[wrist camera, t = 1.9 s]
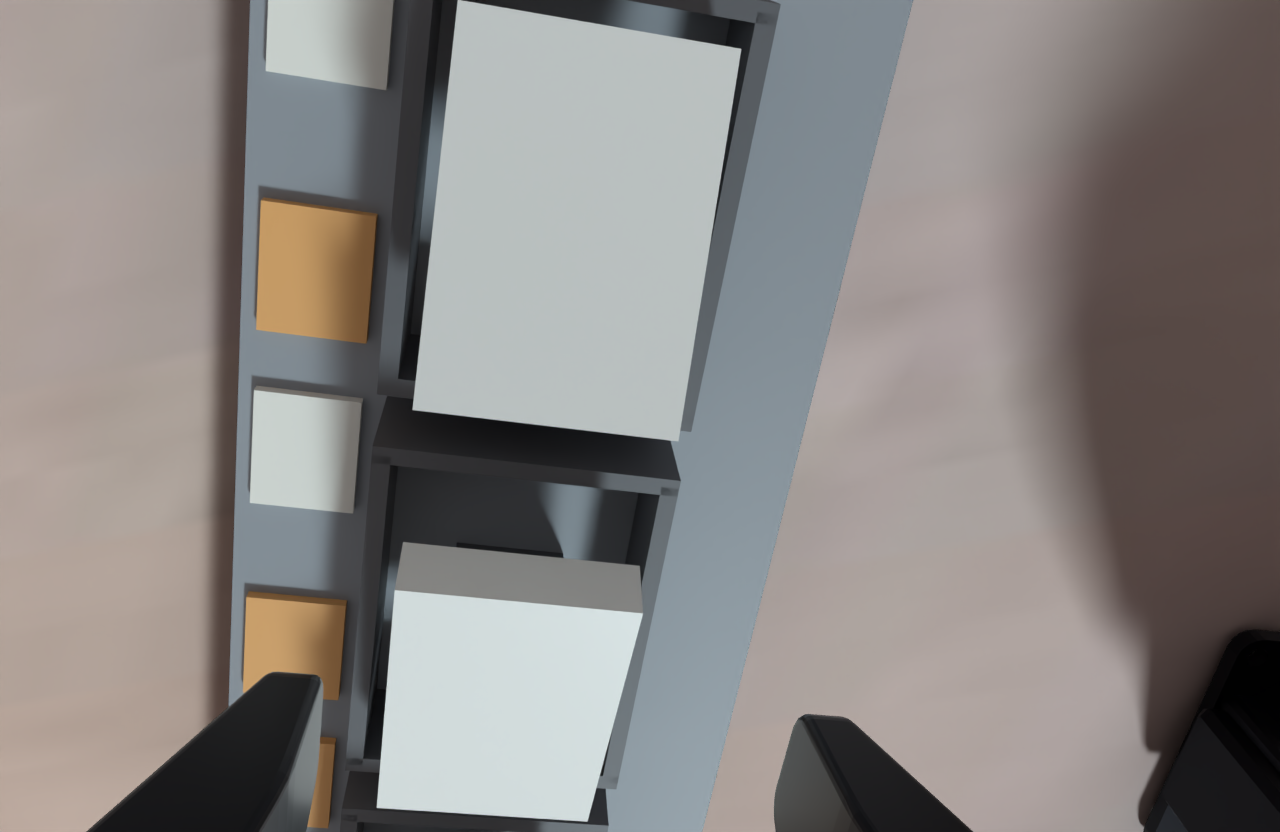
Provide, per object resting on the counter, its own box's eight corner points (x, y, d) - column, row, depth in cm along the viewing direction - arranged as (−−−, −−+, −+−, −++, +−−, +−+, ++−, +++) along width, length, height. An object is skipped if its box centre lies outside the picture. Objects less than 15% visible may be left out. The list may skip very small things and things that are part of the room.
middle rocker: (639, 565, 17) (643, 613, 16) (586, 772, 20) (587, 822, 19) (402, 541, 17) (394, 590, 16) (384, 758, 20) (377, 807, 19)
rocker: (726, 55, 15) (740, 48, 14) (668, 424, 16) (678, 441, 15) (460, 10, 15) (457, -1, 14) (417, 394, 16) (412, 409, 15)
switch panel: (880, -20, 19) (973, 0, 15) (651, 927, 28) (671, 1099, 24) (282, -132, 18) (208, -142, 14) (241, 906, 27) (189, 1086, 23)
